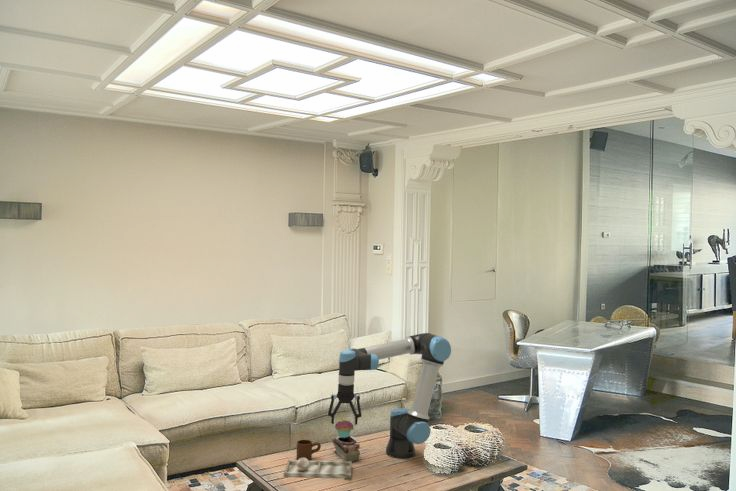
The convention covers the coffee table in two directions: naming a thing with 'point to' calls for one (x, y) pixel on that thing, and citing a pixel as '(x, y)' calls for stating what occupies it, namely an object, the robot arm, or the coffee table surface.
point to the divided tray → (320, 469)
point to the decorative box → (347, 448)
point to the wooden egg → (302, 464)
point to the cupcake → (344, 428)
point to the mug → (306, 449)
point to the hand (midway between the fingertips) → (343, 430)
